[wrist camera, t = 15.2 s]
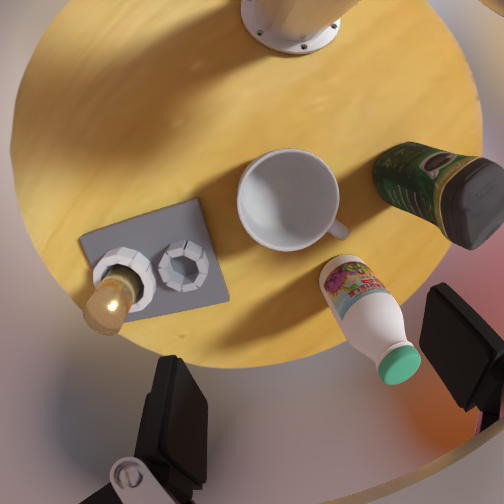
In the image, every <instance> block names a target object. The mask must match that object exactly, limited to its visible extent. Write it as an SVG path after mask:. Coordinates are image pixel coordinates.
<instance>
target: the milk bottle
mask: <svg viewBox="0 0 504 504" xmlns="http://www.w3.org/2000/svg"><path fill="white" fill-rule="evenodd" d="M319 286H320V289H321V291H322V293H323V295H324V297H325V299H326V301H327V303H328V305H329V307H330V309H331V311H332V313H333V315H334V317H335V319H336V321H337V323H338V325H339V326H340V328H341V330H342V332H343V334H344V335H345V337H346V339H347V340H348V341H349V343H350V344H351V345H352V346H353V347H354V348H355V349H357V350H358V351H360V352H361V353H363V354H365V355H367V356H368V357H370V358H371V359H372V360H373V361H374V362H375V363H376V369H377V371H378V372H379V375H380V377H381V379H382V381H383V382H384V383H385V384H387V385H395V384H399V383H401V382H403V381H405V380H407V379H408V378H409V377H411V376H412V375H413V374H414V373H415V372H416V370H417V369H418V367H419V365H420V363H421V358H420V355H419V353H418V352H417V351H416V349H415V348H414V347H413V345H412V343H410V342H408V341H407V339H406V335H405V330H404V321H403V316H402V312H401V310H400V307H399V305H398V304H397V302H396V300H395V299H394V298H393V296H392V295H391V294H390V292H389V291H388V290H387V289H386V288H385V286H384V285H383V284H382V283H381V281H380V280H379V279H378V278H377V277H376V276H375V274H374V273H373V272H372V271H371V270H370V269H369V268H368V266H367V265H366V264H365V263H364V262H363V261H362V260H361V259H360V258H358V257H357V256H354V255H349V254H347V255H339V256H337V257H335V258H333V259H331V260H330V261H329V262H328V263H327V264H326V265H325V266H324V268H323V269H322V271H321V274H320V278H319Z"/></svg>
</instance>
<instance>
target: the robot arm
mask: <svg viewBox="0 0 504 504" xmlns="http://www.w3.org/2000/svg"><path fill="white" fill-rule="evenodd" d="M359 1H361V0H251V1H248V0H242V2H241V18H242V21H243V24H244V26H245V27H246V29H247V31H248V32H249V33H250V34H251V35H252V36H253V37H254V38H255V39H256V40H257V41H258V42H260V43H261V44H263V45H265V46H266V47H268V48H271V49H273V50H276V51H278V52H283V53H287V54H308V53H312V52H316V51H318V50H320V49H322V48H324V47H325V46H327V45H328V44H329V43H330V42H332V41H333V40H334V38H335V37H336V35H337V34H338V32H339V29H340V23H341V18H340V17H342V16H343V15H344V14H345V13H346V12H347V11H349V10H350V9H351V8H352V7H353V6H354V5H356V4H357V3H358V2H359ZM479 1H481V2H482V3H483V4H484V5H485V6H487V7H488V8H490V9H491V10H492V11H494V12H496V13H497V14H499V15H501V16H503V17H504V0H479ZM332 27H333V28H332ZM258 33H260V34H261V36H259V35H257V34H258ZM301 47H303V48H304V50H303V49H301ZM419 345H420V348H421V350H422V352H423V353H424V355H425V356H426V357H427V359H428V360H429V362H430V363H431V365H432V366H433V368H434V369H435V371H436V372H437V373H438V375H439V376H440V378H441V380H442V381H443V383H444V384H445V386H446V387H447V389H448V390H449V392H450V393H451V395H452V397H453V398H454V400H455V401H456V403H457V404H458V406H459V407H460V408H463V409H464V410H465V412H467V411H469V410H470V409H472V408H474V407H475V406H477V407H478V409H479V414H478V421H477V426H476V431H475V436H474V437H473V438H471V439H470V440H468V441H467V442H465V443H464V444H462V445H460V446H459V447H457V448H455V449H454V450H452V451H450V452H449V453H447V454H445V455H444V456H441V457H440V458H438V459H436V460H434V461H432V462H430V463H428V464H426V465H424V466H422V467H420V468H418V469H416V470H414V471H412V472H409V473H407V474H405V475H403V476H401V477H398V478H396V479H393V480H391V481H388V482H386V483H384V484H381V485H378V486H376V487H373V488H370V489H367V490H364V491H361V492H358V493H355V494H352V495H349V496H345V497H342V498H338V499H335V500H331V501H327V502H323V503H319V504H504V341H503V340H502V339H501V337H500V336H499V335H498V334H497V333H496V332H495V331H494V330H493V329H492V328H491V327H490V326H489V325H488V324H487V323H486V321H485V320H483V318H482V317H481V316H480V315H479V314H478V313H477V312H476V311H475V310H474V309H473V308H472V307H471V306H469V305H468V304H467V303H466V302H465V301H464V300H463V299H462V298H461V297H460V296H459V295H458V294H457V293H456V292H455V291H454V290H453V289H452V288H450V287H449V286H448V285H447V284H446V283H440V284H437V285H435V286H433V287H431V288H430V291H429V292H428V294H427V299H426V306H425V312H424V318H423V324H422V330H421V335H420V340H419ZM207 425H208V403H207V400H206V398H205V397H204V395H203V393H202V392H201V390H200V389H199V387H198V385H197V384H196V382H195V380H194V379H193V377H192V375H191V374H190V372H189V370H188V368H187V367H186V365H185V363H184V361H183V360H182V358H177V356H176V355H169V356H163V357H160V358H159V359H158V363H157V368H156V372H155V376H154V380H153V385H152V389H151V392H150V393H148V394H147V397H146V400H145V405H144V408H143V413H142V418H141V423H140V428H139V432H138V438H137V443H136V448H135V454H134V457H126V458H122V459H120V460H118V461H117V462H116V463H115V464H114V465H113V467H112V469H111V472H110V481H111V482H110V483H108V484H107V485H105V486H104V487H103V488H101V489H100V490H98V491H97V492H95V493H94V494H92V495H91V496H89V497H88V498H87V499H85V500H84V501H82V502H81V503H80V504H197V503H196V502H195V501H194V500H193V499H192V495H193V491H192V490H202V483H206V479H207V428H208V427H207Z"/></svg>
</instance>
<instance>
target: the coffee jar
mask: <svg viewBox="0 0 504 504" xmlns="http://www.w3.org/2000/svg"><path fill="white" fill-rule="evenodd" d="M373 177H374V181H375V184H376V187H377V189H378V191H379V193H380V195H381V197H382V198H383V200H384V201H385V202H387V203H388V204H390V205H392V206H394V207H396V208H399V209H401V210H404V211H406V212H409V213H411V214H414V215H416V216H418V217H420V218H422V219H424V220H427V221H429V222H431V223H432V224H434V225H436V226H437V227H438V228H439V229H440V230H441V232H442V234H443V235H444V236H445V237H446V238H447V239H448V240H449V241H450V242H453V243H455V244H457V245H459V246H462V247H463V248H465V249H468V250H474V249H476V248H478V247H479V246H480V245H481V244H483V243H484V242H485V241H486V240H487V239H488V238H489V237H490V236H491V235H492V234H493V233H494V232H495V231H496V230H497V229H498V228H499V227H500V226H501V225H502V223H503V222H504V169H503V168H502V167H501V166H500V165H498V164H496V163H495V162H492V161H490V160H488V159H486V158H483V157H477V156H464V155H458V154H454V153H450V152H447V151H443V150H440V149H436V148H432V147H429V146H426V145H423V144H419V143H415V142H405V143H403V144H400V145H398V146H396V147H394V148H393V149H391V150H390V151H388V152H387V153H385V154H384V155H383V156H382V157H380V158H379V159H378V160H377V162H376V163H375V165H374V169H373Z"/></svg>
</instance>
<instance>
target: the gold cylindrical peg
mask: <svg viewBox="0 0 504 504" xmlns="http://www.w3.org/2000/svg"><path fill="white" fill-rule="evenodd" d="M142 285H143V282H142V280H141V277H140V275H139V274H138V273H136V272H135V271H134V270H133V269H132V268H131V267H129V266H125V265H122V264H118V263H117V264H114V266H113V267H112V268H111V270H110V271H109V272H108V274H107V275H106V276H105V278H104V279H103V280H102V282H101V283H100V284H99V286H98V287H97V288H96V290H95V291H94V293H93V294H92V295H91V297H90V298H89V300H88V301H87V303H86V304H85V306H84V308H83V316H84V319H85V321H86V323H87V324H88V325H89V326H90V327H91V328H92V329H93V330H94V331H96V332H98V333H100V334H102V335H107V336H112V335H115V334H117V333H118V332H119V331H120V329H121V327H122V325H123V323H124V321H125V319H126V317H127V315H128V313H129V310H130V308H131V306H132V304H133V302H134V300H135V298H136V296H137V294H138V292H139V290H140V288H141V286H142Z"/></svg>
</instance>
